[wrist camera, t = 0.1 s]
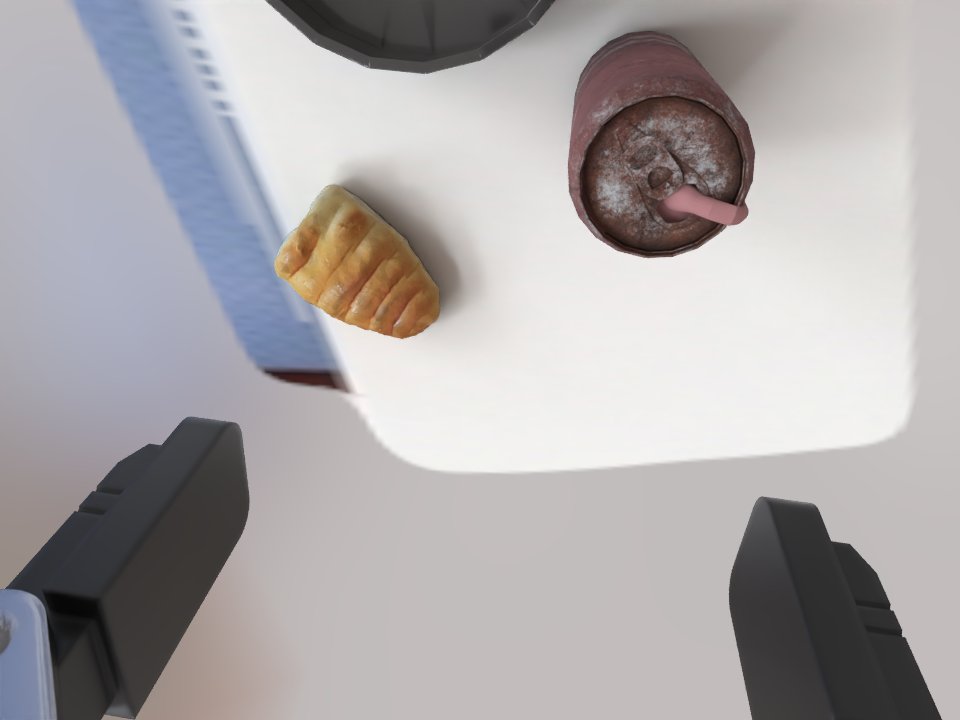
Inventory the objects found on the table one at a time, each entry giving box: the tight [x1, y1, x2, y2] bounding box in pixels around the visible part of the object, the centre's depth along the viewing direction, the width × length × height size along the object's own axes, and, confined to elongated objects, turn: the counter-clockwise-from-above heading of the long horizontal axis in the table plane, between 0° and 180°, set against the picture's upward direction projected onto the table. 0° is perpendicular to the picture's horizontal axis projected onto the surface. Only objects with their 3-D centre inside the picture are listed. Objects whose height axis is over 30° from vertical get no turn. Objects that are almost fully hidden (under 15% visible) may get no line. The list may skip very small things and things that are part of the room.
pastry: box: [275, 185, 440, 339], centre depth 41 cm, size 9×7×4 cm
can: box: [568, 31, 755, 258], centre depth 30 cm, size 6×6×14 cm
